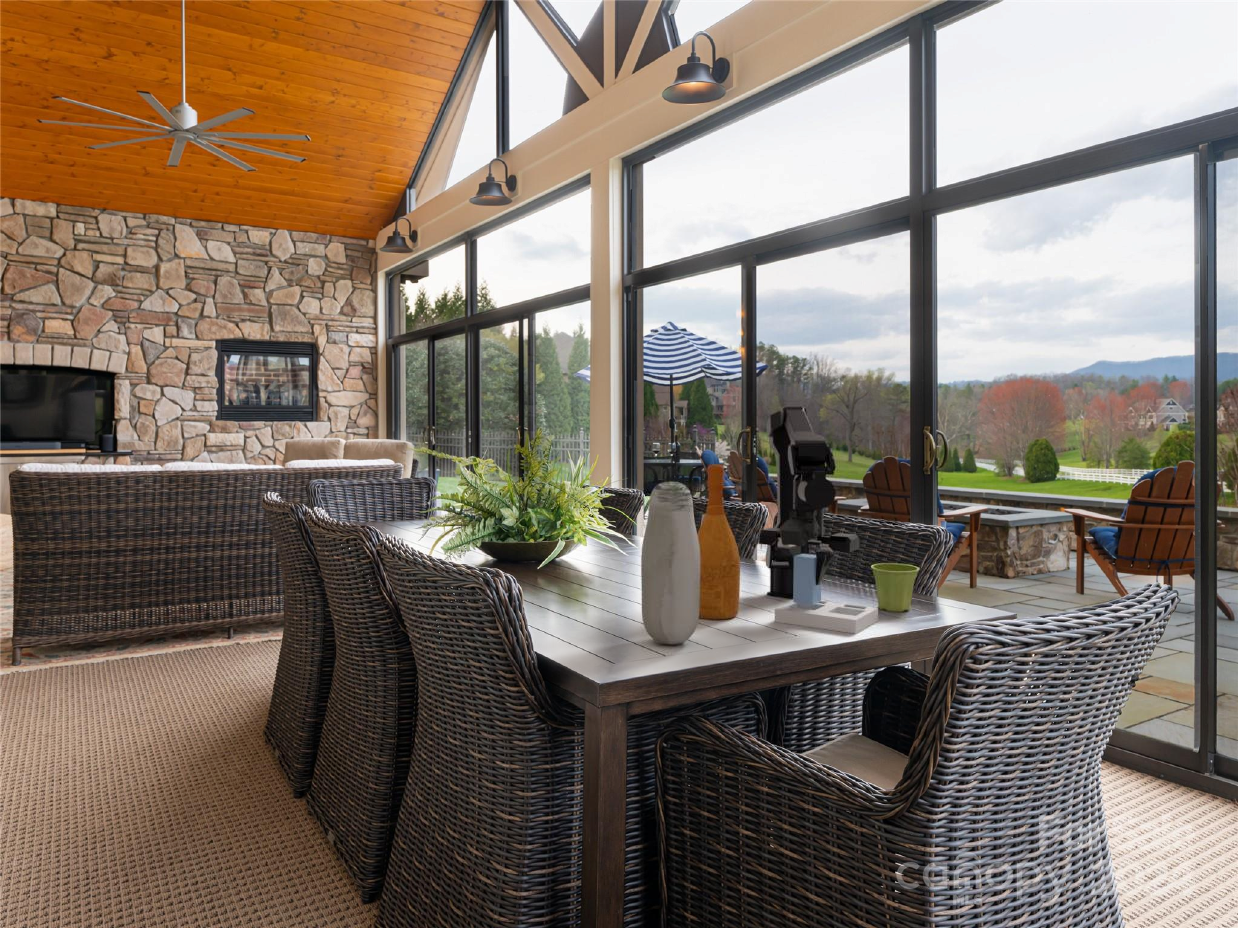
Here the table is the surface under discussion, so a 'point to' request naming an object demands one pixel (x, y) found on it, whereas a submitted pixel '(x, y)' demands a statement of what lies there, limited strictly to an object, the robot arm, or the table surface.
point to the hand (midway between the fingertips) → (807, 583)
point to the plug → (805, 580)
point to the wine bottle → (717, 555)
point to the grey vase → (670, 566)
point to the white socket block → (827, 616)
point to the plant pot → (894, 585)
